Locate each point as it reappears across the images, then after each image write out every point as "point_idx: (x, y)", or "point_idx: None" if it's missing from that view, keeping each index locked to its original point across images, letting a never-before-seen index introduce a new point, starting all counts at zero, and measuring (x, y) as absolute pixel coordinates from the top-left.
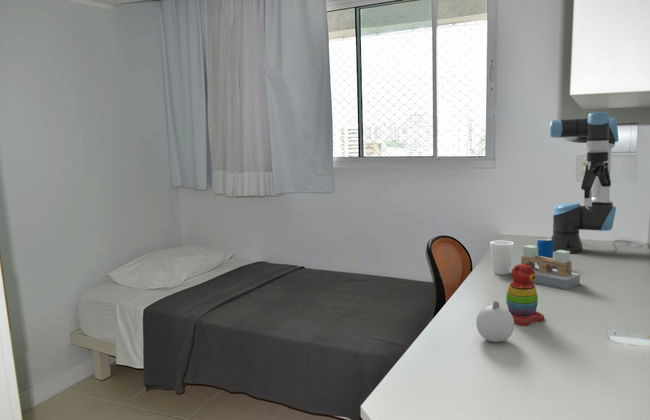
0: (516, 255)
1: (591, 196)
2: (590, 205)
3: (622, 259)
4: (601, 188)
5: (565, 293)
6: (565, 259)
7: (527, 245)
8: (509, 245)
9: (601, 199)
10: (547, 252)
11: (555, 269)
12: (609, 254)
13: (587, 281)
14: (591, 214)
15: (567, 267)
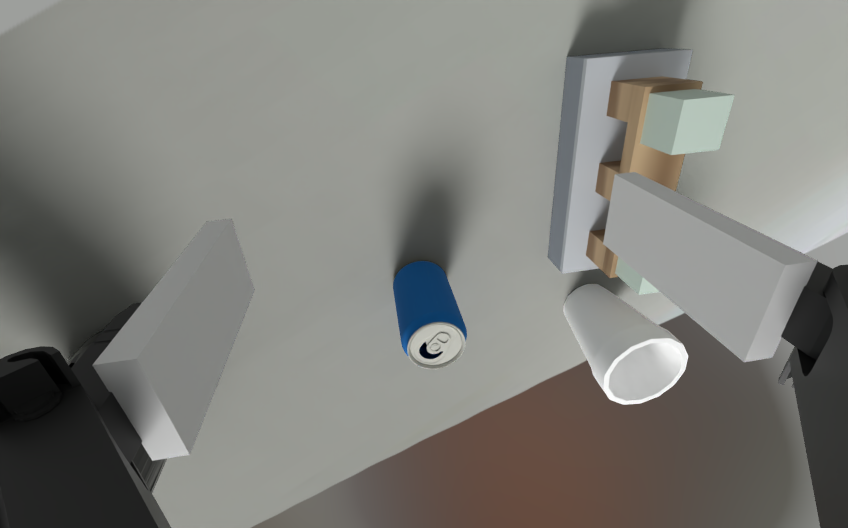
0: (369, 403)
1: (712, 217)
2: (641, 179)
3: (50, 152)
4: (191, 409)
5: (713, 21)
6: (701, 91)
7: (650, 292)
8: (665, 336)
9: (240, 291)
10: (447, 293)
11: (578, 165)
12: (29, 239)
13: (516, 53)
14: None
15: (667, 81)
